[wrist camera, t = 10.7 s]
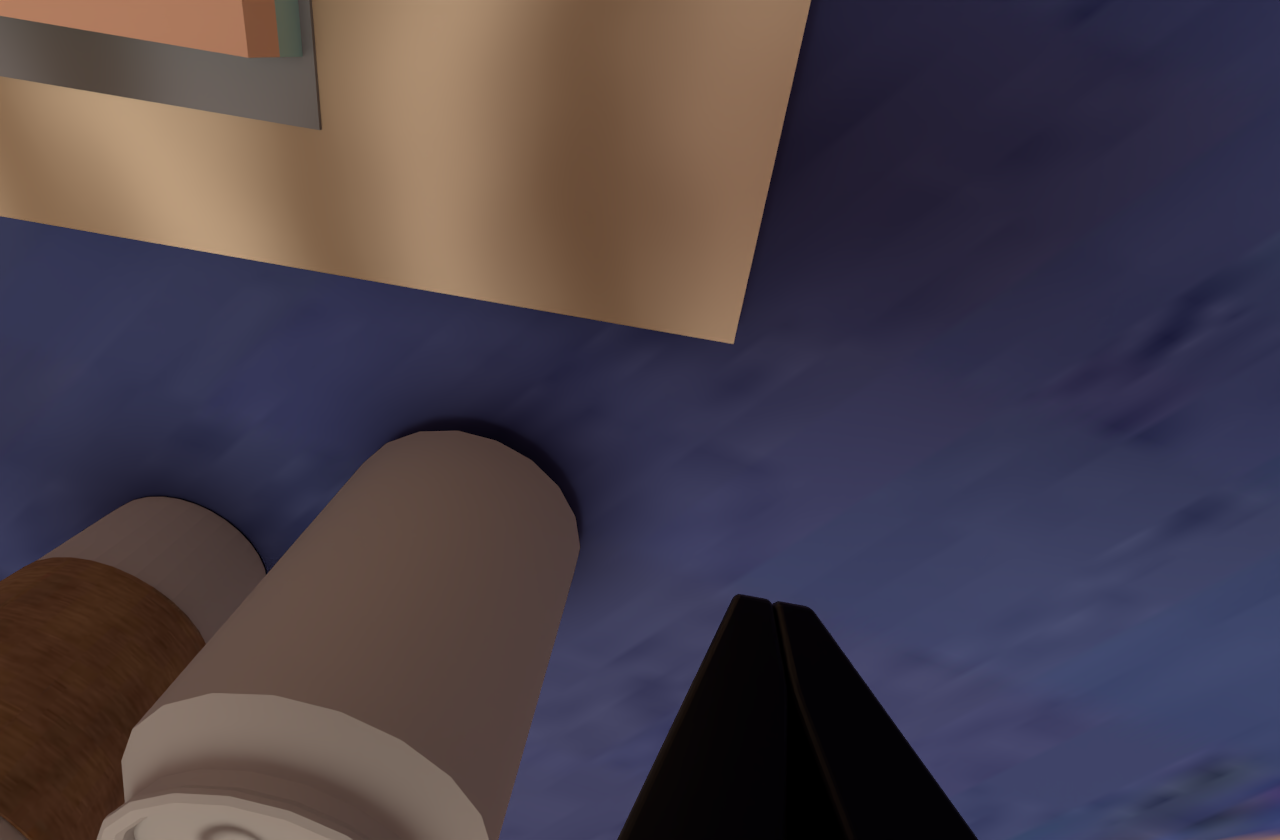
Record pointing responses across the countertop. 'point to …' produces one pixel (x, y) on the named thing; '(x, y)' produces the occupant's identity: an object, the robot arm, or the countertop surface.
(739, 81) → the board
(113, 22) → the tile
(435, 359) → the countertop surface
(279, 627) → the can
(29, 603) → the coffee cup
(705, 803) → the robot arm
